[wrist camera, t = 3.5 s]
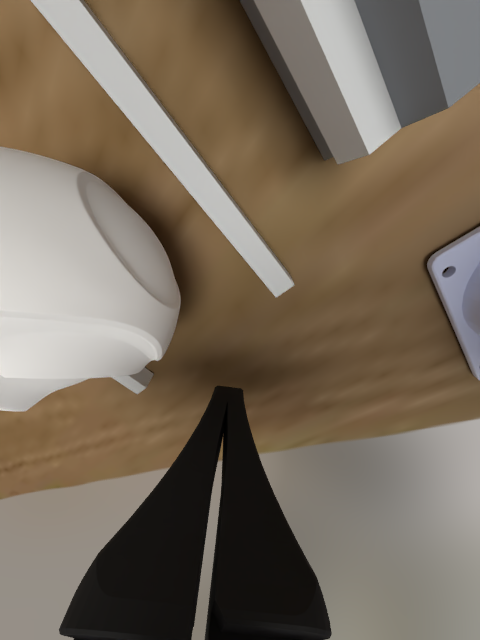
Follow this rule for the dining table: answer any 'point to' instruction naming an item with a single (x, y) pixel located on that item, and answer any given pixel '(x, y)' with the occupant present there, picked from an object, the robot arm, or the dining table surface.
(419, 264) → the dining table surface
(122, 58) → the rail mount
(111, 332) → the white rounded piece
